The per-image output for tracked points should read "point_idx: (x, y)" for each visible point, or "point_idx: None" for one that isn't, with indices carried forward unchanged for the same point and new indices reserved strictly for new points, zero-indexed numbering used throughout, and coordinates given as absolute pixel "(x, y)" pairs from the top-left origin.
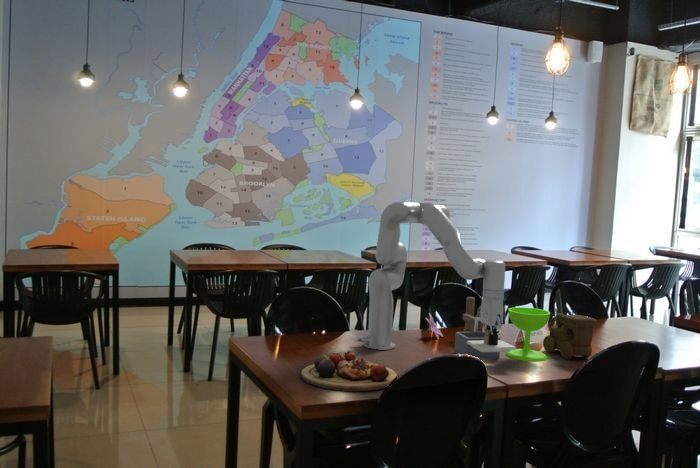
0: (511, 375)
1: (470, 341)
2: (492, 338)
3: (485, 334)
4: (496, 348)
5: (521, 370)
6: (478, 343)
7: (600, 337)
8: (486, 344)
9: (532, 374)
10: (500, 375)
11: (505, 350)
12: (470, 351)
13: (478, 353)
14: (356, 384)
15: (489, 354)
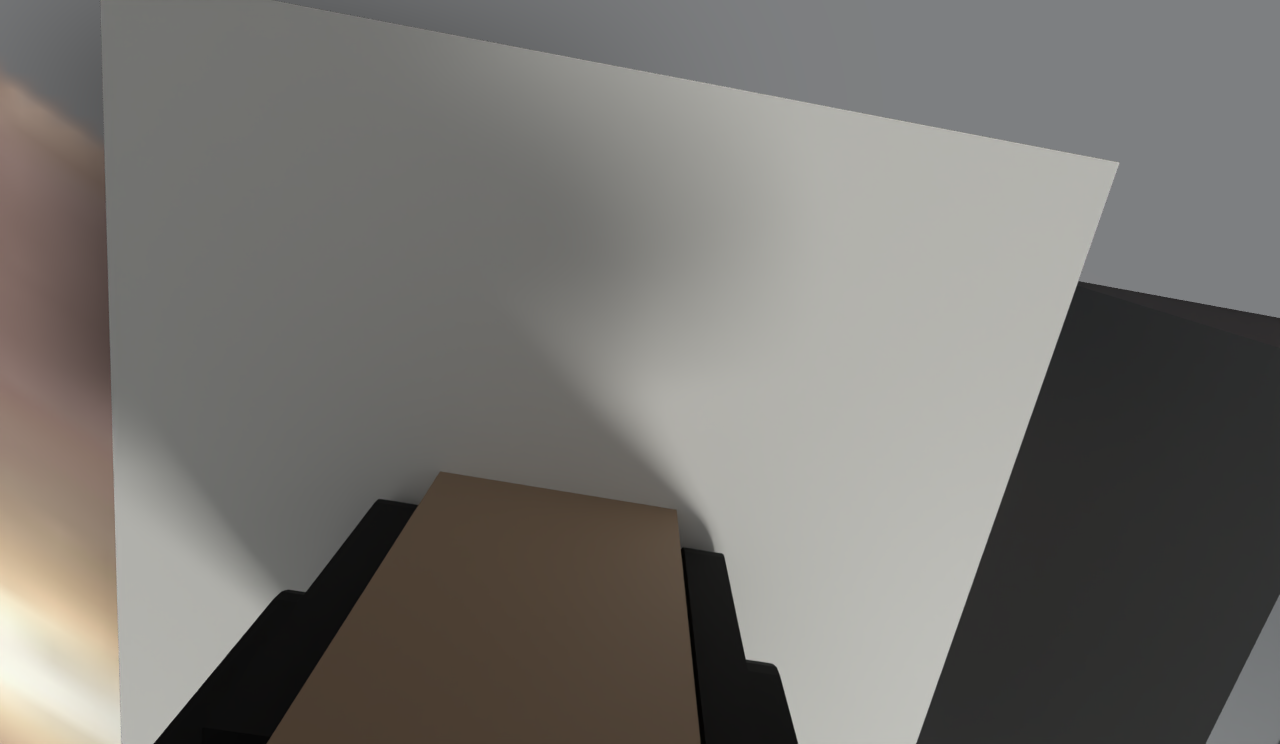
0: (49, 405)
1: (986, 217)
2: (227, 677)
3: (603, 684)
4: (132, 510)
5: None
6: (670, 310)
7: None
8: (492, 465)
9: (83, 694)
10: (56, 242)
11: None
12: (1090, 387)
13: (1012, 518)
14: None
15: (943, 678)
